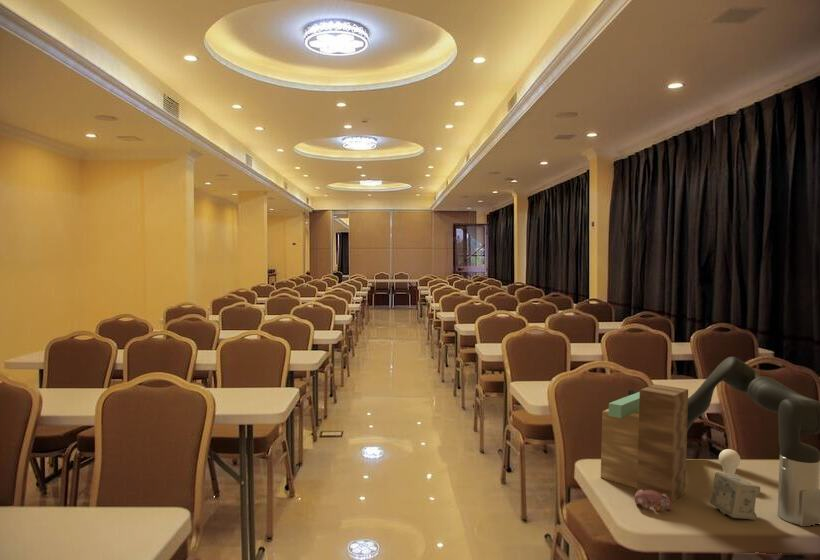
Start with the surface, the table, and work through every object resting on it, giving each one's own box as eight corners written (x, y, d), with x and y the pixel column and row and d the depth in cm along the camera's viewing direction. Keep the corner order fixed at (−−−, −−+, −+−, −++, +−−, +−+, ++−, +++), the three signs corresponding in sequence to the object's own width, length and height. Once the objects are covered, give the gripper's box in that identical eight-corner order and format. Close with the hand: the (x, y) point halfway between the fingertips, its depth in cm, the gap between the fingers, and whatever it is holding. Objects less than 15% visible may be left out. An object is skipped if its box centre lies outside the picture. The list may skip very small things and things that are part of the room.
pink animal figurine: (633, 511, 168) (632, 494, 165) (635, 499, 172) (634, 482, 169) (670, 519, 164) (671, 501, 161) (671, 506, 167) (672, 488, 164)
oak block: (619, 467, 200) (620, 403, 200) (654, 476, 192) (656, 410, 191) (600, 477, 190) (602, 411, 189) (637, 488, 182) (638, 418, 181)
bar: (641, 402, 203) (642, 390, 202) (653, 404, 200) (653, 392, 200) (608, 415, 184) (608, 403, 184) (620, 418, 181) (621, 405, 181)
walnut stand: (652, 483, 186) (655, 384, 185) (685, 492, 179) (688, 389, 178) (636, 494, 177) (639, 389, 176) (670, 504, 170) (673, 395, 169)
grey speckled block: (760, 520, 160) (761, 483, 160) (733, 522, 159) (734, 484, 159) (734, 505, 170) (736, 470, 170) (709, 507, 169) (710, 471, 168)
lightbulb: (734, 480, 190) (735, 447, 189) (743, 487, 184) (744, 453, 183) (714, 479, 190) (715, 446, 190) (722, 486, 184) (724, 452, 184)
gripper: (640, 397, 214) (624, 380, 204) (680, 404, 204) (666, 386, 194) (635, 416, 212) (619, 400, 201) (676, 424, 202) (661, 408, 192)
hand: (642, 393), depth 198 cm, fingers open, 8 cm apart
